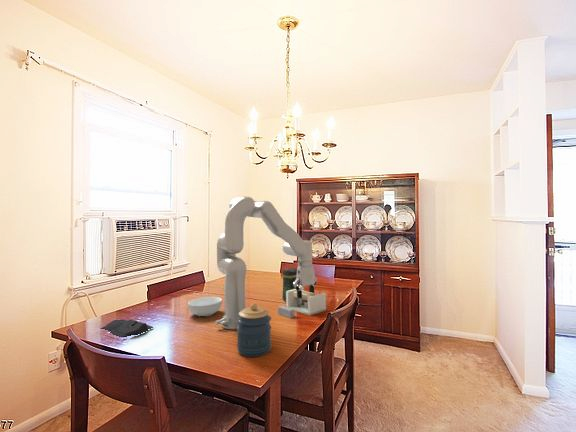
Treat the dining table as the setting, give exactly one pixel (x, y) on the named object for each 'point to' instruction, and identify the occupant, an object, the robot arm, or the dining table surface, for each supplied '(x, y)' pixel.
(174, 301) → the dining table surface
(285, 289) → the coffee jar
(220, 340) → the dining table surface
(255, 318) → the canister
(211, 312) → the cereal bowl
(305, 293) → the board
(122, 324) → the dark slate chunk
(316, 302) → the peg stand
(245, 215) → the robot arm
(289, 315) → the block
